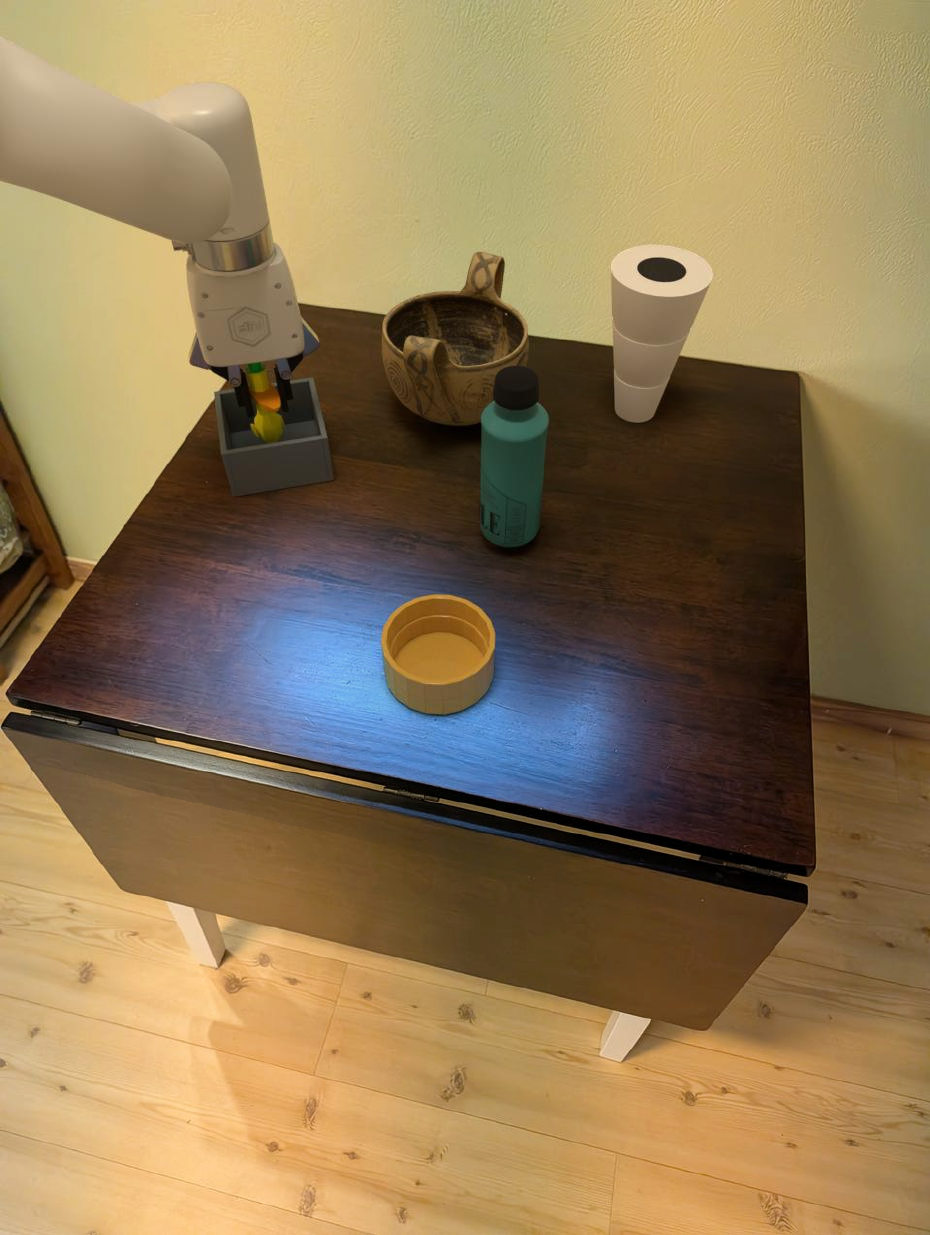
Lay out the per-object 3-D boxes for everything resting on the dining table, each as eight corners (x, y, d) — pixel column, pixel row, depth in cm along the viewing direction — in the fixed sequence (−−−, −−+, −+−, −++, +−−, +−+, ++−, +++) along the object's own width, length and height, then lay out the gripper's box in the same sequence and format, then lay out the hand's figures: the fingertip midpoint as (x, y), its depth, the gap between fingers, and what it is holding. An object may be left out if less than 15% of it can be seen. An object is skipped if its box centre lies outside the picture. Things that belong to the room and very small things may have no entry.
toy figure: (303, 464, 95) (286, 373, 86) (274, 475, 94) (253, 385, 85) (278, 432, 99) (258, 342, 90) (250, 443, 98) (227, 352, 88)
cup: (619, 447, 98) (645, 305, 84) (575, 396, 104) (592, 256, 90) (696, 424, 101) (733, 283, 87) (648, 375, 107) (676, 236, 93)
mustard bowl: (397, 726, 74) (393, 694, 70) (376, 639, 80) (371, 605, 76) (506, 703, 76) (508, 670, 72) (477, 619, 82) (478, 585, 78)
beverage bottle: (550, 530, 90) (568, 368, 74) (519, 569, 86) (531, 407, 70) (497, 507, 92) (505, 345, 76) (465, 544, 88) (465, 382, 73)
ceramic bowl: (488, 481, 94) (492, 365, 83) (352, 445, 98) (337, 329, 87) (549, 372, 108) (560, 258, 96) (427, 343, 111) (423, 232, 100)
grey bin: (233, 497, 93) (221, 454, 88) (225, 434, 100) (213, 391, 95) (334, 480, 94) (327, 437, 90) (320, 419, 101) (313, 377, 97)
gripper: (140, 273, 74) (192, 440, 88) (326, 250, 76) (347, 416, 91) (139, 233, 78) (188, 398, 93) (314, 213, 81) (336, 376, 95)
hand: (267, 405), depth 91 cm, fingers closed on toy figure, 3 cm apart
